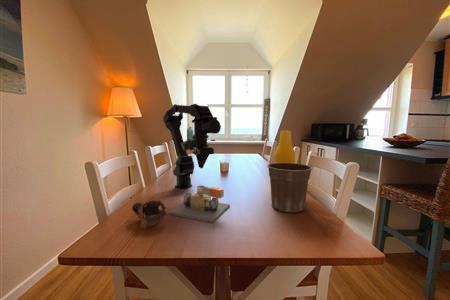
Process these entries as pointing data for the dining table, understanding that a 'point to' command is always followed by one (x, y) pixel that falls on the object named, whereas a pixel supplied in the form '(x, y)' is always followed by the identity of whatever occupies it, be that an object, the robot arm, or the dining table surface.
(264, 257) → the dining table surface
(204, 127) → the robot arm
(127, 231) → the dining table surface
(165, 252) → the dining table surface
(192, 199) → the valve body
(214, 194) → the valve lever
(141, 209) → the pottery mug
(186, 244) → the dining table surface
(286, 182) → the plant pot
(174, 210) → the rubber mat
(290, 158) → the yellow bottle
